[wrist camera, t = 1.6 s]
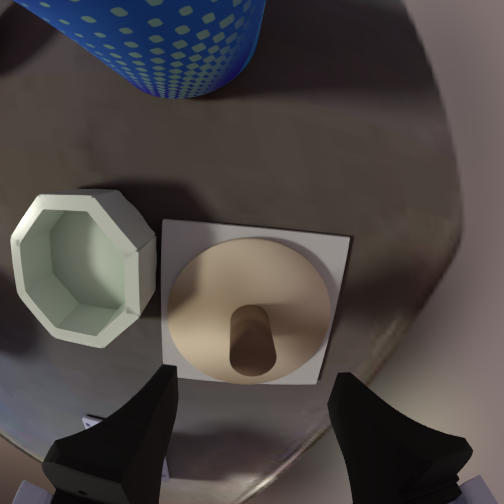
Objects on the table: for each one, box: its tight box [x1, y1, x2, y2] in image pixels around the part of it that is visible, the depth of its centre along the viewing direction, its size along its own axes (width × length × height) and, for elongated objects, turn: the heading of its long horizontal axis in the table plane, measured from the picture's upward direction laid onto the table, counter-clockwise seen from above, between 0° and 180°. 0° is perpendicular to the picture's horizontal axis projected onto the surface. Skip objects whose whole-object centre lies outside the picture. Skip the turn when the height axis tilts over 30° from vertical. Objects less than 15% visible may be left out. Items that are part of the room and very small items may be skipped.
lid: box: [167, 237, 331, 384], centre depth 17 cm, size 10×10×5 cm
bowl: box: [11, 189, 157, 348], centre depth 16 cm, size 9×9×4 cm
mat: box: [161, 219, 350, 384], centre depth 19 cm, size 12×12×1 cm
